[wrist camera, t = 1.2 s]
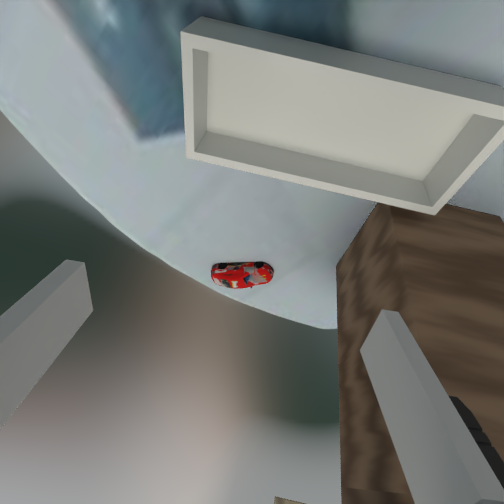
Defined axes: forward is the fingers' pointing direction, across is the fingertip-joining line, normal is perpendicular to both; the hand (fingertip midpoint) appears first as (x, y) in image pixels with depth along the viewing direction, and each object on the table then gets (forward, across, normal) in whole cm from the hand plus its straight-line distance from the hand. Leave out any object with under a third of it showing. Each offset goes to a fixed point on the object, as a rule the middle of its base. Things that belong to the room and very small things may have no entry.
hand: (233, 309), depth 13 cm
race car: (+39, +1, -24) cm, 46 cm away
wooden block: (+31, +26, -9) cm, 41 cm away
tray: (+26, +7, +8) cm, 28 cm away
